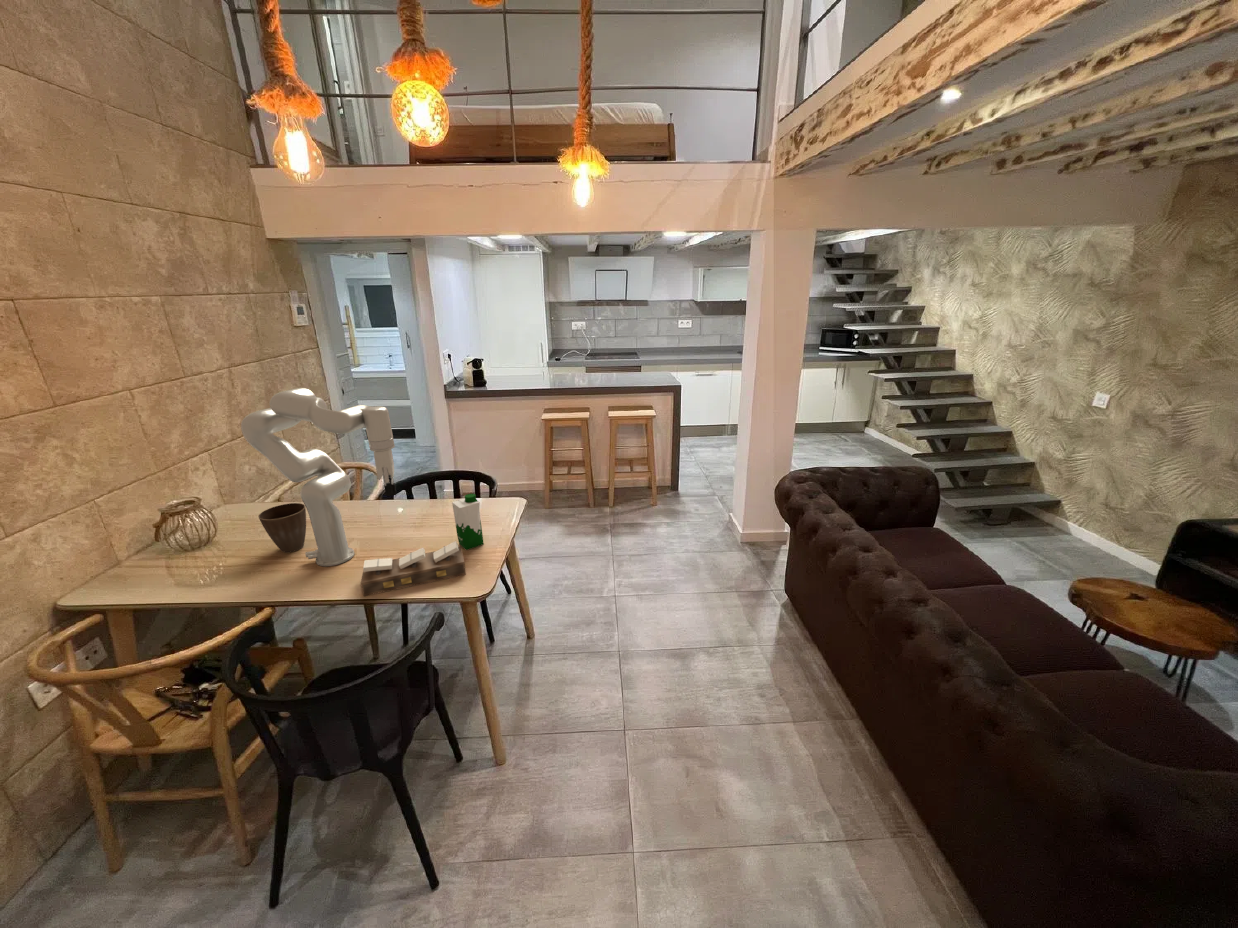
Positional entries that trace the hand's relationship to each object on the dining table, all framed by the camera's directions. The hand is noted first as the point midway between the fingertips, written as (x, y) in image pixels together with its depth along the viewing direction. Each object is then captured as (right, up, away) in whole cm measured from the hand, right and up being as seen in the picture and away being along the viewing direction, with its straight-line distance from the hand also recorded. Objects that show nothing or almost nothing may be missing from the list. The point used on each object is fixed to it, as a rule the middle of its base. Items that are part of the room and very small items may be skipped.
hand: (391, 494), depth 167 cm
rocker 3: (+19, -21, +2) cm, 28 cm away
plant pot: (-49, -23, +22) cm, 58 cm away
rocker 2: (+8, -22, -1) cm, 24 cm away
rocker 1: (-2, -24, -5) cm, 25 cm away
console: (+8, -28, +1) cm, 30 cm away
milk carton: (+21, -21, +22) cm, 37 cm away
